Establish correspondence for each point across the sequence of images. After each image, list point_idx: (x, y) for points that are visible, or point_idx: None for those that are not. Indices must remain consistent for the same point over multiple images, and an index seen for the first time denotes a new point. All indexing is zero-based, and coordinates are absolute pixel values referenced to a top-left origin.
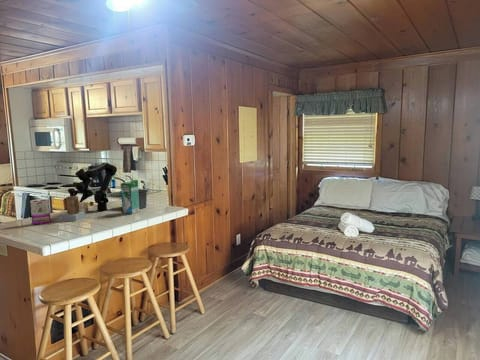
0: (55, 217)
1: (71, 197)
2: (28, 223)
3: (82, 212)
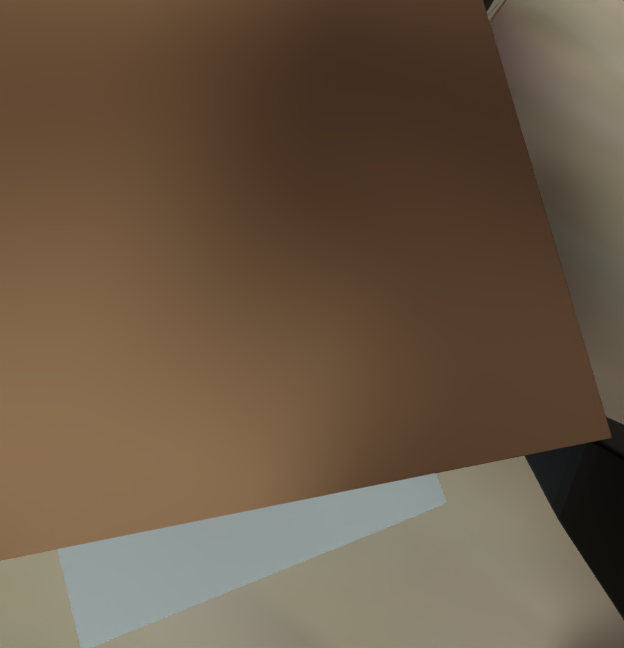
0: (620, 365)
1: (81, 2)
2: (571, 3)
3: (100, 569)
